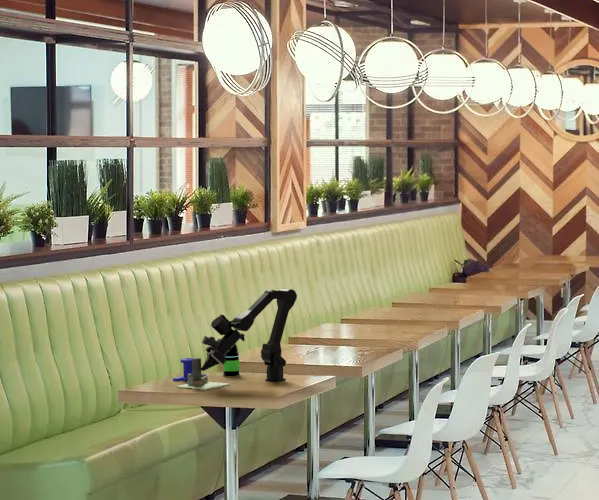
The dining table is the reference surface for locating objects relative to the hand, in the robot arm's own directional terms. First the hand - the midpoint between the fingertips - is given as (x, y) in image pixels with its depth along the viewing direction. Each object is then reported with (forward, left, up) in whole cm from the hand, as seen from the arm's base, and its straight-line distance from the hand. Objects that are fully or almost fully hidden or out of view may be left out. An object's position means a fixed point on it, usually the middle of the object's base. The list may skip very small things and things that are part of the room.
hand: (201, 370), depth 501 cm
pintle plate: (+2, -3, -7) cm, 8 cm away
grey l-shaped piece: (+5, -4, -6) cm, 9 cm away
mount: (+21, -16, -8) cm, 28 cm away
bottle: (+11, -32, -7) cm, 35 cm away
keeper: (+5, -2, -7) cm, 9 cm away
